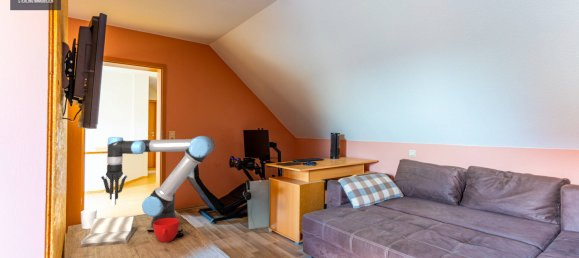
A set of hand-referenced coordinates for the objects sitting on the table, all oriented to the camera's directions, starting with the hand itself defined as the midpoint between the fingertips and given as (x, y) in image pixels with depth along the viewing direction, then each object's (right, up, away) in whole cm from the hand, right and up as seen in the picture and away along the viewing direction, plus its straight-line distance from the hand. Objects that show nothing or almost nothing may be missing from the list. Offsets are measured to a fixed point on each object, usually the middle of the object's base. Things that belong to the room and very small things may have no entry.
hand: (113, 204), depth 167 cm
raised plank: (+1, -12, -2) cm, 12 cm away
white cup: (-20, -16, +8) cm, 27 cm away
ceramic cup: (+35, -17, -11) cm, 40 cm away
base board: (+2, -16, -7) cm, 18 cm away
